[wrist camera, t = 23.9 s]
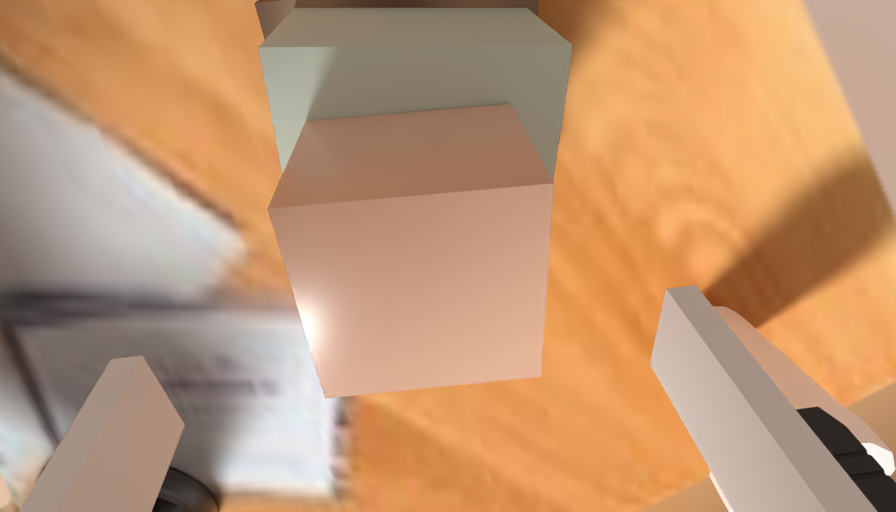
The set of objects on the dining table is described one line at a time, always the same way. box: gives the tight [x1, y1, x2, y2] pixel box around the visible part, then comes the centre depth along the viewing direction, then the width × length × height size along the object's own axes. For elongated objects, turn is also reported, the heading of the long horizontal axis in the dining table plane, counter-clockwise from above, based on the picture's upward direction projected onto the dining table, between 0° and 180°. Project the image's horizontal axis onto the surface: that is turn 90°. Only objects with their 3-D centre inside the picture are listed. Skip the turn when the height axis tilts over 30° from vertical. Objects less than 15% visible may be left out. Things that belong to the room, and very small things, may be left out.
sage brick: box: [258, 8, 573, 180], centre depth 22 cm, size 10×10×7 cm
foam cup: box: [710, 306, 895, 512], centre depth 35 cm, size 10×9×13 cm
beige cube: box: [268, 104, 554, 398], centre depth 17 cm, size 7×7×6 cm
